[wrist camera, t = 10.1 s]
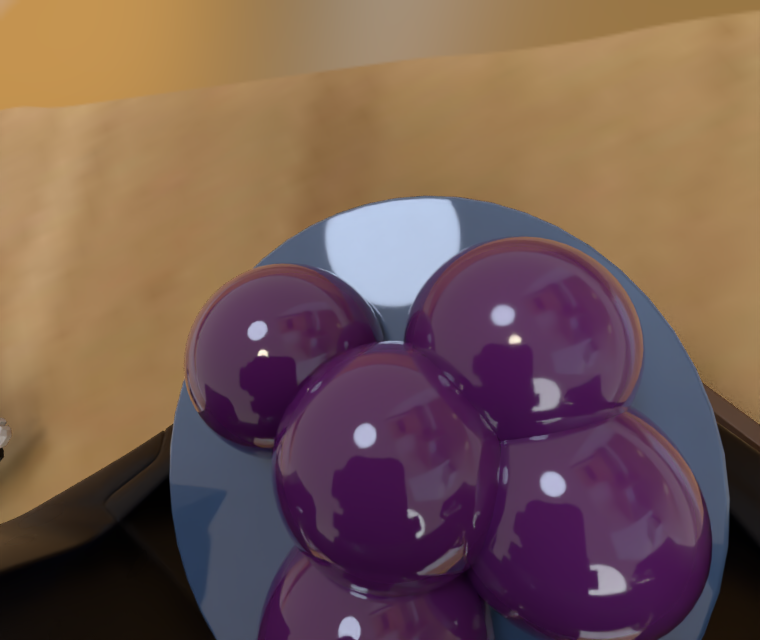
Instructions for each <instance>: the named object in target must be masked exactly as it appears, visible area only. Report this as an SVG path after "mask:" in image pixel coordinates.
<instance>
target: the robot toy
mask: <svg viewBox="0 0 760 640" xmlns="http://www.w3.org/2000/svg"><path fill="white" fill-rule="evenodd" d="M5 424H6V420H5V419H4V418H0V461H1V460H2V458H3V457H4V450H3V448H2V447H4V446H6V445H7V443H8V441H9V440H10V438H11V436H12V432H11V428H10V427H9V426H5Z"/></svg>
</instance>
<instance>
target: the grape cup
mask: <svg viewBox="0 0 760 640" xmlns="http://www.w3.org/2000/svg"><path fill="white" fill-rule="evenodd" d="M184 375H185V378H184V381H183V384H182V388H181V392H180V396H179V400H178V404H177V408H176V412H175V417H174V424H173V431H172V438H171V445H170V469H169V483H170V498H171V512H172V518H173V523H174V529H175V535H176V541H177V546H178V549H179V553H180V556H181V560H182V563H183V567H184V570H185V574H186V577H187V580H188V583H189V585H190V588H191V590H192V592H193V595H194V597H195V600H196V602H197V605H198V607H199V610H200V612H201V614H202V616H203V618H204V620H205V621H206V623H207V625H208V627H209V629H210V630H211V632H212V634H213V636H214V638H215V640H702V638H703V637H704V634H705V631H706V628H707V626H708V623H709V620H710V617H711V615H712V612H713V609H714V606H715V603H716V601H717V598H718V595H719V592H720V587H721V582H722V577H723V571H724V566H725V561H726V555H727V550H728V538H729V508H730V497H729V488H728V479H727V471H726V462H725V453H724V450H723V446H722V442H721V438H720V434H719V430H718V427H717V423H716V419H715V415H714V411H713V408H712V406H711V403H710V401H709V399H708V396H707V394H706V391H705V389H704V386H703V384H702V382H701V379H700V377H699V374H698V372H697V370H696V368H695V366H694V364H693V362H692V361H691V359H690V357H689V355H688V354H687V352H686V350H685V349H684V347H683V345H682V343H681V342H680V340H679V338H678V337H677V335H676V333H675V331H674V330H673V329H672V327H671V326H670V325H669V323H668V322H667V321H666V320H665V318H664V317H663V316H662V314H661V313H660V312H659V311H658V309H657V308H656V307H655V305H654V304H653V303H652V301H651V300H650V299H649V298H648V297H647V296H646V295H645V294H644V293H643V292H642V291H641V290H640V289H639V288H638V287H637V286H636V285H635V284H634V283H633V282H632V281H631V280H630V279H629V278H628V277H627V276H626V275H625V274H624V273H623V272H622V271H621V270H620V269H619V268H618V267H617V266H615V265H614V264H613V263H611V262H610V261H609V260H608V259H606V258H605V257H604V256H602V255H601V254H600V253H599V252H597V251H596V250H595V249H593V248H592V247H591V246H589V245H588V244H586V243H584V242H583V241H581V240H579V239H578V238H576V237H574V236H573V235H571V234H569V233H568V232H566V231H564V230H562V229H561V228H559V227H557V226H555V225H553V224H550V223H548V222H546V221H544V220H541V219H539V218H537V217H534V216H532V215H530V214H527V213H525V212H522V211H519V210H515V209H512V208H508V207H505V206H502V205H498V204H495V203H491V202H485V201H480V200H474V199H468V198H462V197H446V196H416V197H403V198H393V199H388V200H383V201H378V202H373V203H368V204H364V205H361V206H358V207H355V208H352V209H349V210H346V211H343V212H340V213H337V214H335V215H333V216H330V217H328V218H326V219H324V220H322V221H320V222H317V223H315V224H313V225H311V226H309V227H308V228H306V229H304V230H303V231H301V232H299V233H298V234H296V235H294V236H293V237H291V238H290V239H288V240H286V241H285V242H284V243H282V244H281V245H280V246H278V247H277V248H276V249H275V250H273V251H272V252H271V253H270V254H268V255H267V256H266V257H264V258H263V259H262V260H261V261H260V262H259V263H258V264H257V265H256V266H255V267H254V268H253V269H251V270H248V271H246V272H244V273H242V274H239V275H238V276H236V277H234V278H233V279H231V280H230V281H228V282H227V283H225V284H224V285H223V286H221V287H220V288H219V289H218V290H217V291H216V292H215V293H214V294H213V295H212V296H211V297H210V298H209V299H208V300H207V301H206V303H205V304H204V305H203V307H202V308H201V310H200V311H199V313H198V314H197V316H196V318H195V320H194V322H193V324H192V327H191V330H190V332H189V335H188V339H187V343H186V348H185V355H184Z"/></svg>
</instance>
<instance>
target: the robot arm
mask: <svg viewBox="0 0 760 640" xmlns="http://www.w3.org/2000/svg"><path fill="white" fill-rule="evenodd" d="M716 423H717V427H718V430H719V434H720V438H721V442H722V446H723V450H724V453H725V462H726V471H727V479H728V488H729V497H730V508H729V538H728V550H727V555H726V561H725V566H724V571H723V577H722V582H721V587H720V592H719V595H718V598H717V601H716V603H715V606H714V609H713V612H712V615H711V617H710V620H709V623H708V626H707V628H706V631H705V634H704V637H703V638H702V640H760V452H759V451H757V450H756V449H754V448H753V447H752V446H750V445H749V444H747V443H746V442H745V441H743V440H742V439H740V438H739V437H738V436H736V435H735V434H733V433H732V432H731V431H729V430H728V429H726V428H725V427H723V426H722V425H721V424H719V423H718V422H716ZM172 431H173V424H172V425H171V426H169V427H168V428H166V430H165V431H162V432H160V433H159V434H157V435H156V436H154V437H153V438H151V439H150V440H148V441H147V442H145V443H143V444H142V445H140V446H139V447H137V448H136V449H134V450H132V451H131V452H129V453H128V454H126V455H125V456H123V457H121V458H120V459H118V460H116V461H115V462H113V463H111V464H110V465H108V466H106V467H105V468H103V469H101V470H99V471H98V472H96V473H94V474H93V475H91V476H89V477H87V478H86V479H84V480H82V481H81V482H79V483H77V484H75V485H74V486H72V487H70V488H69V489H67V490H65V491H63V492H62V493H60V494H58V495H57V496H55V497H53V498H51V499H50V500H48V501H46V502H45V503H43V504H41V505H39V506H38V507H36V508H34V509H32V510H31V511H29V512H27V513H25V514H23V515H21V516H19V517H17V518H15V519H12V520H10V521H7V522H5V523H2V524H0V640H215V638H214V636H213V634H212V632H211V630H210V629H209V627H208V625H207V623H206V621H205V620H204V618H203V616H202V614H201V612H200V610H199V607H198V605H197V602H196V600H195V597H194V595H193V592H192V590H191V588H190V585H189V583H188V580H187V577H186V574H185V570H184V567H183V563H182V560H181V556H180V553H179V549H178V546H177V541H176V535H175V529H174V523H173V518H172V512H171V498H170V483H169V469H170V445H171V438H172Z"/></svg>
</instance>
